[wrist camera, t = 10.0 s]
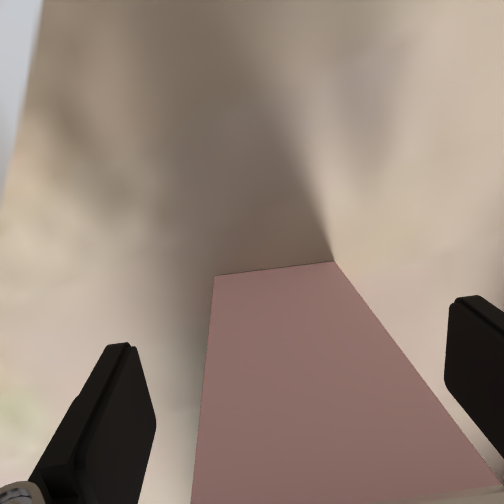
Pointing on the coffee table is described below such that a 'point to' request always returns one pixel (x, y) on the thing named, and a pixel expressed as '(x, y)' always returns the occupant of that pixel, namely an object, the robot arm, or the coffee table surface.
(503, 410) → the robot arm
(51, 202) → the coffee table surface
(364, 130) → the coffee table surface
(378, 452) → the rose domino
